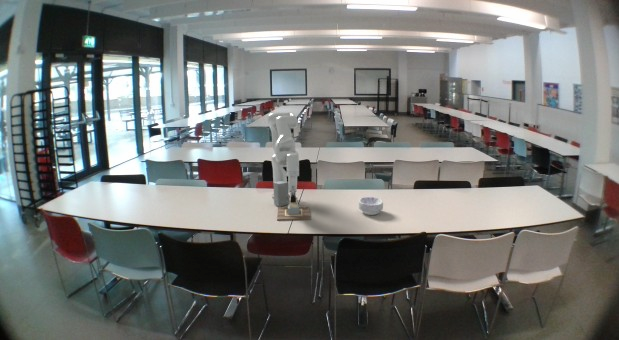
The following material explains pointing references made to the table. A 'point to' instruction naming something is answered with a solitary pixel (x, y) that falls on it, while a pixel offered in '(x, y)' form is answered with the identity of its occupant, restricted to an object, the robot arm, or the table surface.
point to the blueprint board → (282, 212)
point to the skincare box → (281, 193)
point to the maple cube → (293, 204)
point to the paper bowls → (370, 205)
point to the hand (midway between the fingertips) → (293, 199)
